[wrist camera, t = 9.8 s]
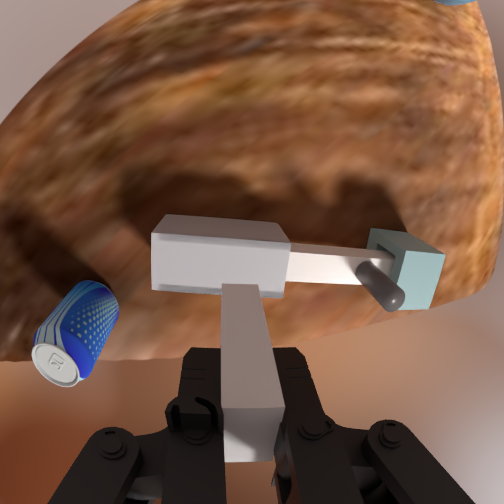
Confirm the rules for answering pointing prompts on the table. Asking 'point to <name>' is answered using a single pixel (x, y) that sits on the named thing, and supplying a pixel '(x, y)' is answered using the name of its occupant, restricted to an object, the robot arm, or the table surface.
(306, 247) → the sliding bolt with handle
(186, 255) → the white rectangular box
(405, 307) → the socket block
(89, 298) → the beer can
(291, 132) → the table surface
